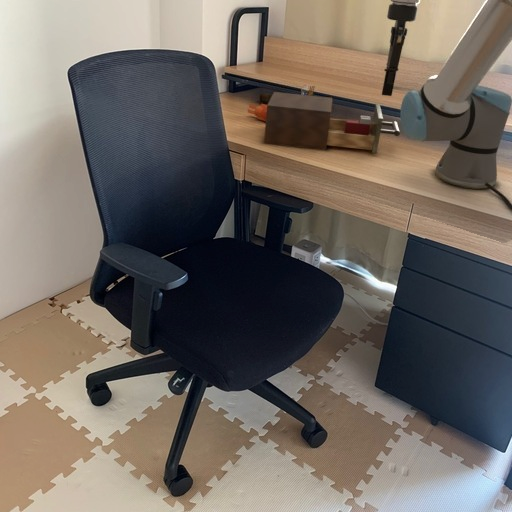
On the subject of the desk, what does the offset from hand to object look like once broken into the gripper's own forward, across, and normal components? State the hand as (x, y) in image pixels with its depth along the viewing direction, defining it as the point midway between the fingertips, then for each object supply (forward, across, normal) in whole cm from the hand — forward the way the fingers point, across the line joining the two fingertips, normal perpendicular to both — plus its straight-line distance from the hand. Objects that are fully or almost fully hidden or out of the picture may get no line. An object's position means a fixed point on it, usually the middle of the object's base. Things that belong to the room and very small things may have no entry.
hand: (386, 94), depth 149 cm
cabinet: (+15, +1, -24) cm, 28 cm away
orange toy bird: (+16, -15, -36) cm, 42 cm away
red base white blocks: (+13, 0, -7) cm, 15 cm away
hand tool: (+16, -32, -33) cm, 48 cm away
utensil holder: (+16, -20, -24) cm, 35 cm away
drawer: (+15, +1, -7) cm, 16 cm away
